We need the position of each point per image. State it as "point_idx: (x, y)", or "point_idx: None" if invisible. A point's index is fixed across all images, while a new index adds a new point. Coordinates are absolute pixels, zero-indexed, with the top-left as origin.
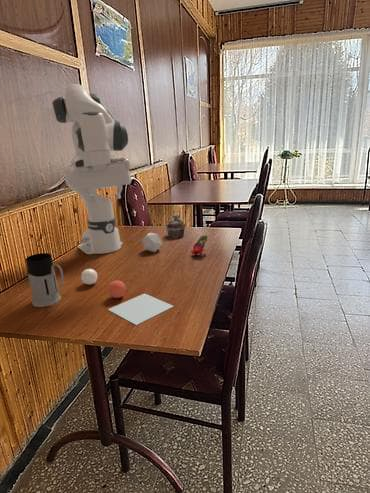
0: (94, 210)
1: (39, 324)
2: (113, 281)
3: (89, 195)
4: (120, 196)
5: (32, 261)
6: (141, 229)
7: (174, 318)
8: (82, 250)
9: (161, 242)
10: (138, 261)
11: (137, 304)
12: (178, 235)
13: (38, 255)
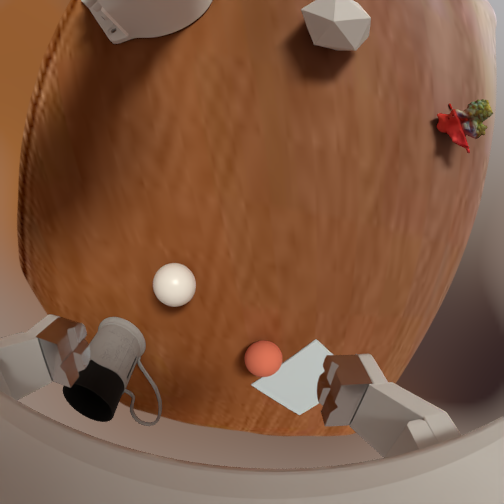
0: None
1: (156, 401)
2: (259, 370)
3: (38, 386)
4: (372, 367)
5: (94, 419)
6: None
7: None
8: (96, 19)
9: (368, 34)
10: (292, 118)
11: (302, 374)
12: None
13: None
